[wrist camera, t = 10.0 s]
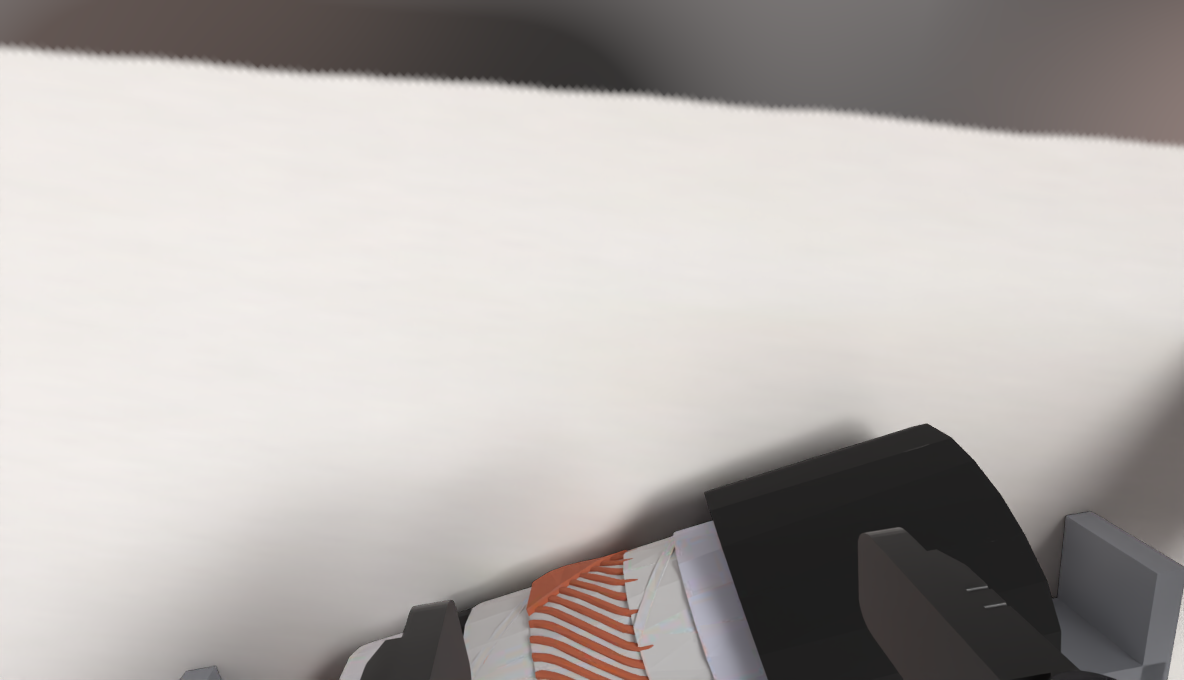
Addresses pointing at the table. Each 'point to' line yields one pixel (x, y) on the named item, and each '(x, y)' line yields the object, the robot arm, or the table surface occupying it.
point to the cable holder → (1095, 603)
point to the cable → (760, 577)
